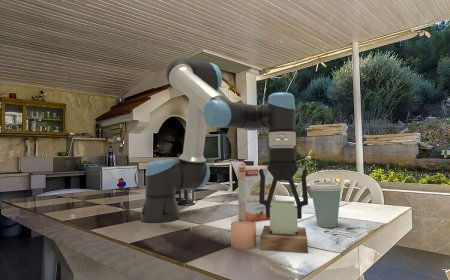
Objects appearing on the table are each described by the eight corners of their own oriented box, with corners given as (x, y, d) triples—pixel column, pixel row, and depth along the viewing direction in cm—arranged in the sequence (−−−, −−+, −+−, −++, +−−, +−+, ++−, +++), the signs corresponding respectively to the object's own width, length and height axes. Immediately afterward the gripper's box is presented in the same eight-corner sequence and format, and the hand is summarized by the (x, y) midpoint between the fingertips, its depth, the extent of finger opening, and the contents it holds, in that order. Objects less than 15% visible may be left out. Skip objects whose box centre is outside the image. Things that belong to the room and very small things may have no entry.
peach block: (228, 248, 77) (228, 226, 77) (233, 241, 84) (233, 220, 84) (254, 250, 76) (254, 227, 76) (257, 242, 82) (257, 221, 83)
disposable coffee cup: (339, 230, 94) (337, 184, 95) (306, 226, 100) (305, 183, 101) (345, 224, 103) (344, 182, 104) (315, 220, 109) (314, 180, 110)
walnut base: (260, 249, 76) (260, 236, 76) (264, 237, 87) (264, 225, 88) (307, 253, 73) (307, 239, 73) (305, 239, 85) (305, 227, 85)
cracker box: (246, 223, 106) (245, 166, 107) (237, 219, 111) (237, 165, 112) (276, 218, 112) (275, 165, 114) (267, 216, 118) (266, 165, 119)
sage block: (272, 233, 78) (271, 203, 79) (273, 227, 84) (273, 200, 84) (295, 234, 77) (294, 204, 77) (294, 228, 83) (294, 200, 83)
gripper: (247, 147, 80) (248, 231, 79) (318, 146, 76) (320, 235, 75) (250, 148, 87) (252, 225, 86) (316, 147, 83) (318, 228, 82)
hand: (283, 229), depth 80 cm, fingers closed on sage block, 6 cm apart
